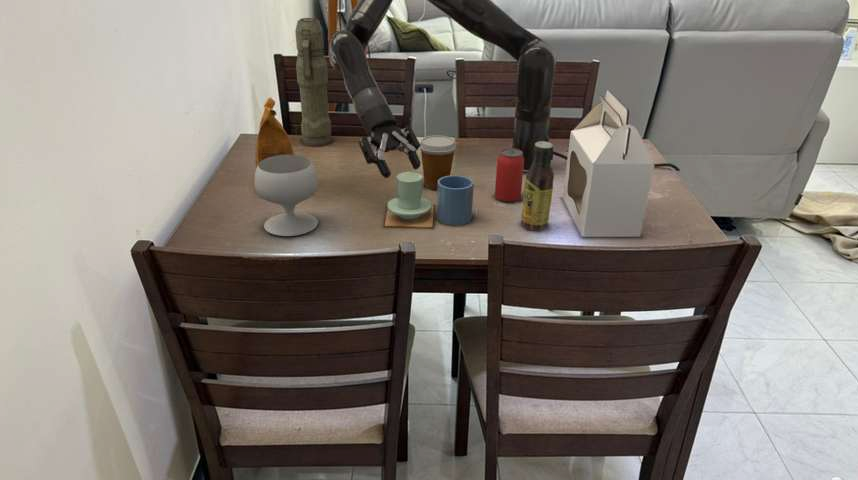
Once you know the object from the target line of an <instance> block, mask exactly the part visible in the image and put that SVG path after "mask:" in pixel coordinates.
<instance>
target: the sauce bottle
mask: <svg viewBox="0 0 858 480" xmlns="http://www.w3.org/2000/svg"><path fill="white" fill-rule="evenodd" d="M534 151H535V152H534V160H533V163H532V165H531V167H530V169H529V171H528V173H526V175H525V179H524V188H523V189H524V190H523V196H522V197H523V198H522V208H521V217H520V219H521V226H522V227H524V228H525V229H527V230H531V231H541V230H544V229H546V228H547V226H548V222H549V219H550V211H551V204H552V196H553V190H554V178H555V173H554V170H553V167H552V166H551V163H552V160H551V154H552V151H554V144H553V143H551V142H545V141H540V142H537V143H535V146H534Z"/></svg>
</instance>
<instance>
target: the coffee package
mask: <svg viewBox="0 0 858 480" xmlns="http://www.w3.org/2000/svg"><path fill="white" fill-rule="evenodd" d="M275 105H276V101H275V100H274V99H273V98H272V97H267V99H266V101H265V103H264V104H263V107H264V110H263V113H262V117H261V119H260V123H259V129H258V134H257V139H256V145H255V156H254V157H255V159H254V160H255V169H256V168H257V166H258V164H259V163H260V162H261V161H262V160H264V159H266V158H269V157H272V156H278V155H295V154H294V151H293V147H292V143H291V139H290V137H289V135H288V132H287V131H286V129H285V128H284V126H283V125H282V123H281V122H280V121H279V120H278V119H277V118H276V116H277V112H276V110H275V109H274V107H275Z"/></svg>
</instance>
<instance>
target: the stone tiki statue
mask: <svg viewBox="0 0 858 480" xmlns="http://www.w3.org/2000/svg"><path fill="white" fill-rule="evenodd" d="M294 33H295V44H296V50H297V55H296V57H297V59H296V64H295V69H296V81H297V84H298V87H299V96H300V97H299V98H300V110H301V118H302V119H301V121H300V128H301V129H300V131H301V135H302V143H303V144H304V145H306V146H311V147H319V146H320V147H321V146H325V145H329V144H330V143H332V122H331V121H332V120H331V119H330V115H329V101H328V83H329V75H328V74H329V73H328V63H327V60H326V57H325V52H324V48H325V45H324V44H325V43H324V31H323V26H322V24H321V22H320V20H319V19H317V18H314V17H304V18H299V19H298V20H297V22H296V26H295V32H294Z"/></svg>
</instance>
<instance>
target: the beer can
mask: <svg viewBox="0 0 858 480" xmlns="http://www.w3.org/2000/svg"><path fill="white" fill-rule="evenodd" d="M523 168H524V157H523V152H522V151H521V150H518V149H514V148H512V147H507V148H503V149H501V150H499V154H498V156H497V160H496V171H495V184H494V185H495V186H494V196H495V198H496V199H497V200H499V201H501V202H505V203H513V202H516V201H519V200H520V199H521V198H522V189H523V188H522V187H523V176H524V173H523Z"/></svg>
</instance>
